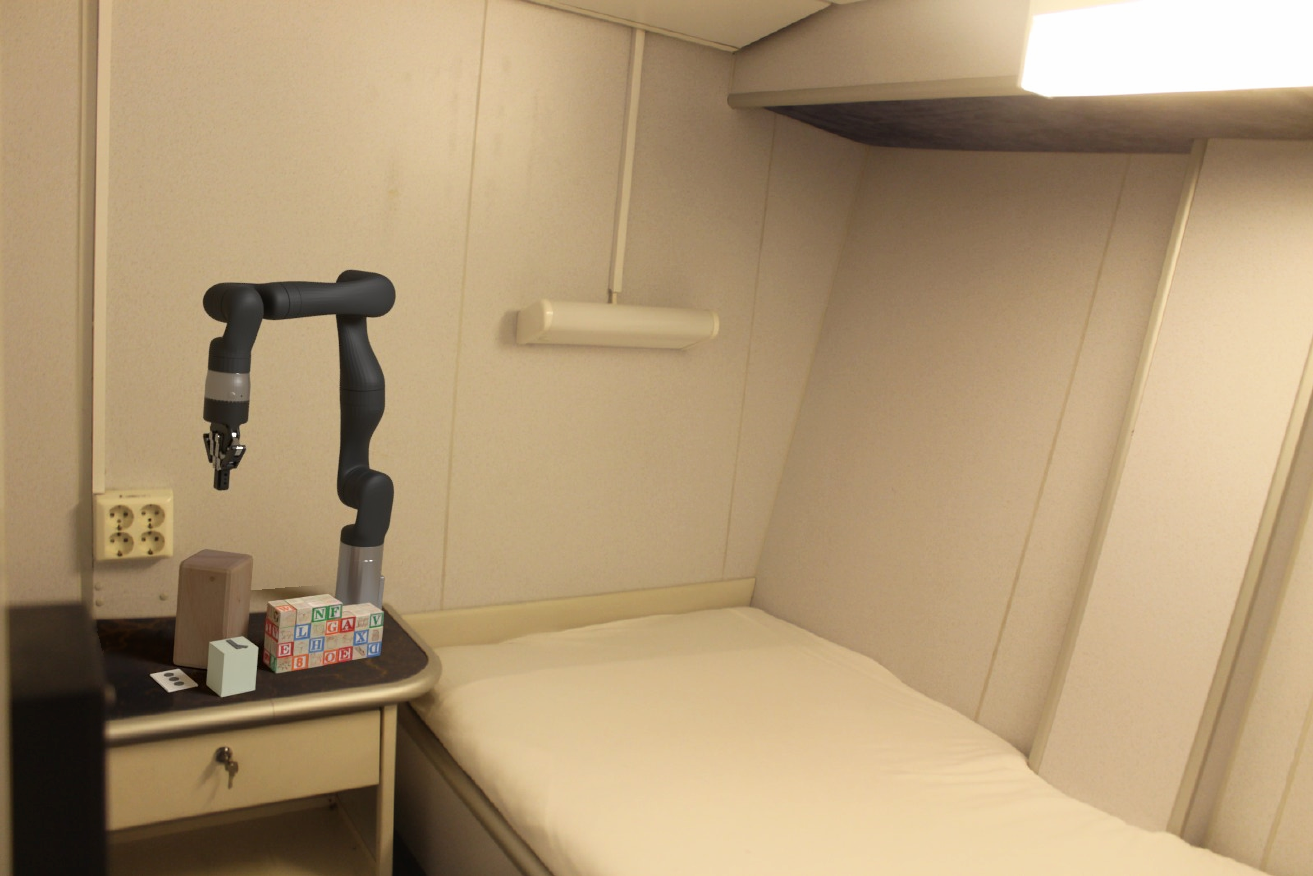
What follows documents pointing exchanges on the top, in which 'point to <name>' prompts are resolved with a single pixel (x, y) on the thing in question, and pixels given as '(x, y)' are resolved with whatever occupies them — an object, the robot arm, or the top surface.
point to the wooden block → (211, 603)
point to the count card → (173, 680)
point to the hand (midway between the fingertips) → (220, 489)
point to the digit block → (232, 666)
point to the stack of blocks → (319, 632)
